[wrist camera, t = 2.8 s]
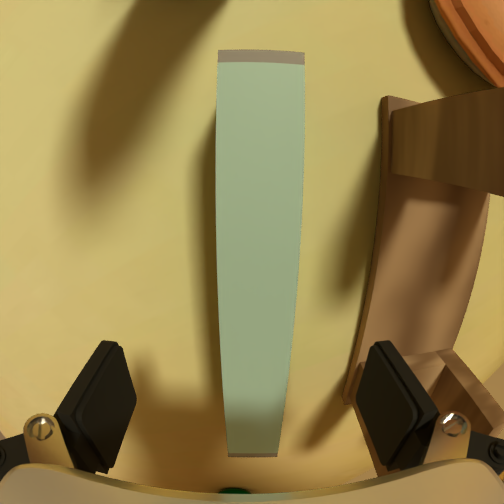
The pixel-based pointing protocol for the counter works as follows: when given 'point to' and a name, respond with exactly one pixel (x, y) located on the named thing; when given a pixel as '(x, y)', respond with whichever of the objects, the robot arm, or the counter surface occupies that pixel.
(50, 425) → the robot arm
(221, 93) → the rail
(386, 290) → the post stand
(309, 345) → the counter surface
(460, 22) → the pie
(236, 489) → the soda can
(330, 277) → the counter surface
